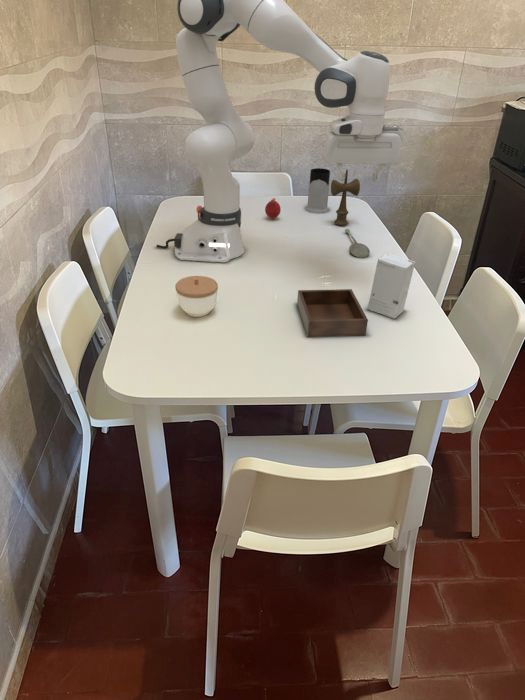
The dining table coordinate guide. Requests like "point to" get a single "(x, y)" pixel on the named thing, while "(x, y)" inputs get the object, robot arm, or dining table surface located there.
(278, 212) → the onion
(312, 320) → the crate
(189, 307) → the trinket box
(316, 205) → the glass holder
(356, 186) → the kendama
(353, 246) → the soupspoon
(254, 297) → the dining table surface
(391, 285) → the cosmetic box
